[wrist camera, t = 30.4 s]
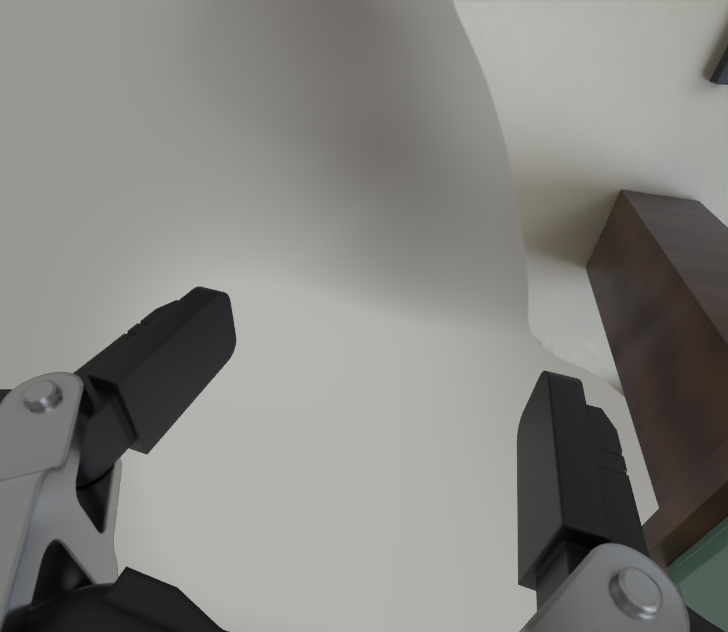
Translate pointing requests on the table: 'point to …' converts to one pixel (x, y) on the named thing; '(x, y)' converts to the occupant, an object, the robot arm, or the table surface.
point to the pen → (721, 71)
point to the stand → (670, 355)
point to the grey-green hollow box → (705, 576)
